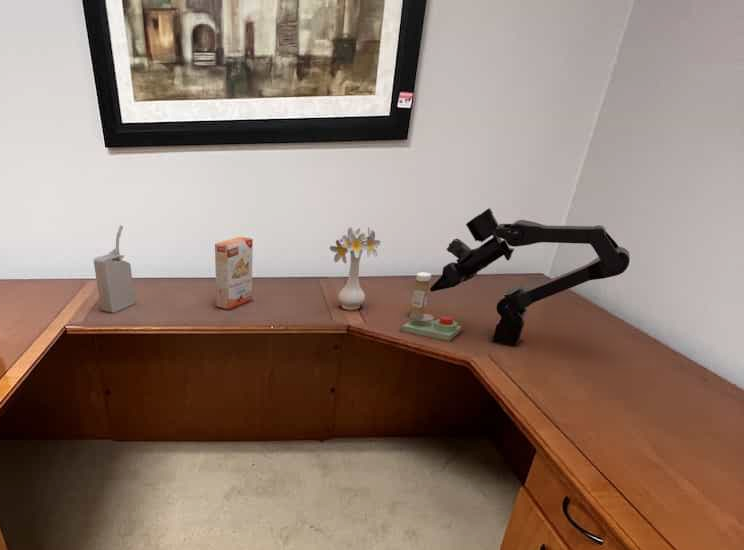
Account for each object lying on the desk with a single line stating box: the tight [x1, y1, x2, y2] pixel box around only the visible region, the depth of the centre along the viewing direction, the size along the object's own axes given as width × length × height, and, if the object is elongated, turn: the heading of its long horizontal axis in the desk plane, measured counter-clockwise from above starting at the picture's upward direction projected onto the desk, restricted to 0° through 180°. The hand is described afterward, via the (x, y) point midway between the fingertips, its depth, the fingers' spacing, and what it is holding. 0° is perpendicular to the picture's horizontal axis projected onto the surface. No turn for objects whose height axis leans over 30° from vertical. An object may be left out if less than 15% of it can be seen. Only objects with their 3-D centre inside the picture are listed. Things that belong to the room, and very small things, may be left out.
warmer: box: [401, 318, 462, 342], centre depth 172 cm, size 15×10×4 cm, turn 53°
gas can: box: [93, 224, 136, 314], centre depth 190 cm, size 15×5×25 cm, turn 150°
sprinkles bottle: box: [409, 271, 432, 316], centre depth 181 cm, size 5×5×13 cm
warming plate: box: [409, 312, 434, 322], centre depth 173 cm, size 7×7×1 cm
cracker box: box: [214, 236, 254, 310], centre depth 192 cm, size 14×6×21 cm, turn 143°
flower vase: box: [329, 226, 381, 311], centre depth 185 cm, size 13×18×25 cm
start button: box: [440, 315, 454, 325], centre depth 169 cm, size 4×4×2 cm
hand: (435, 287), depth 168 cm, fingers open, 9 cm apart
